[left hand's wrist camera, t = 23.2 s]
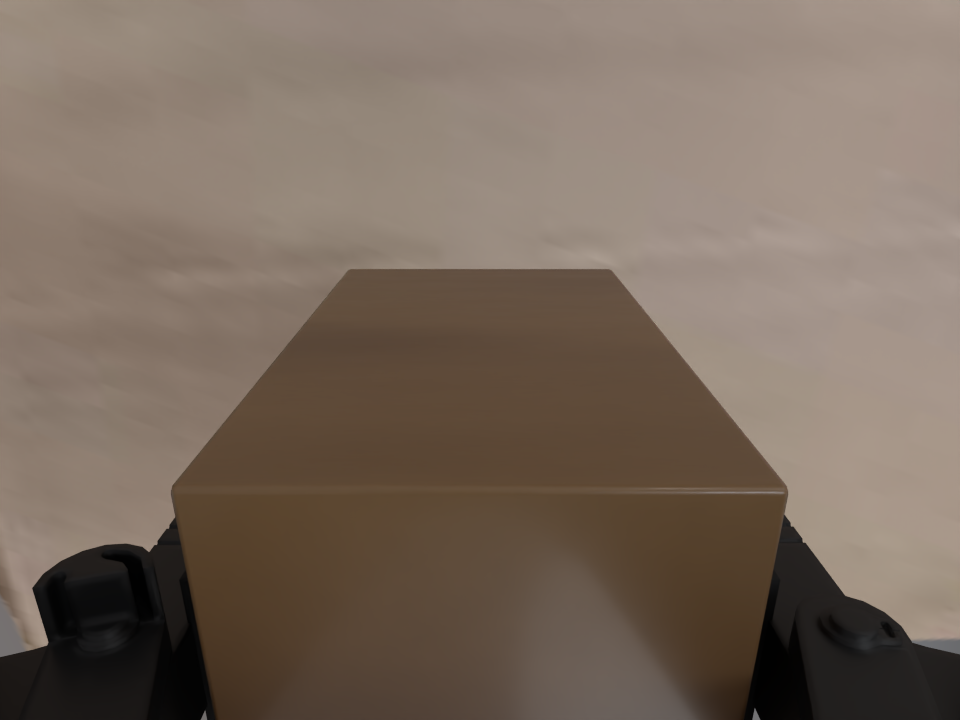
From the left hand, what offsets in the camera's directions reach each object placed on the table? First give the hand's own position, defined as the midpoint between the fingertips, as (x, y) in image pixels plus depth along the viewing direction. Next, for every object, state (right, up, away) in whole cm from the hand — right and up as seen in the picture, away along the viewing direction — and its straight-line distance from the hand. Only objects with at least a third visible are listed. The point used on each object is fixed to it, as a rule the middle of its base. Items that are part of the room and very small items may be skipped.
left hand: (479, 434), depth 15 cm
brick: (0, 0, +1) cm, 1 cm away
